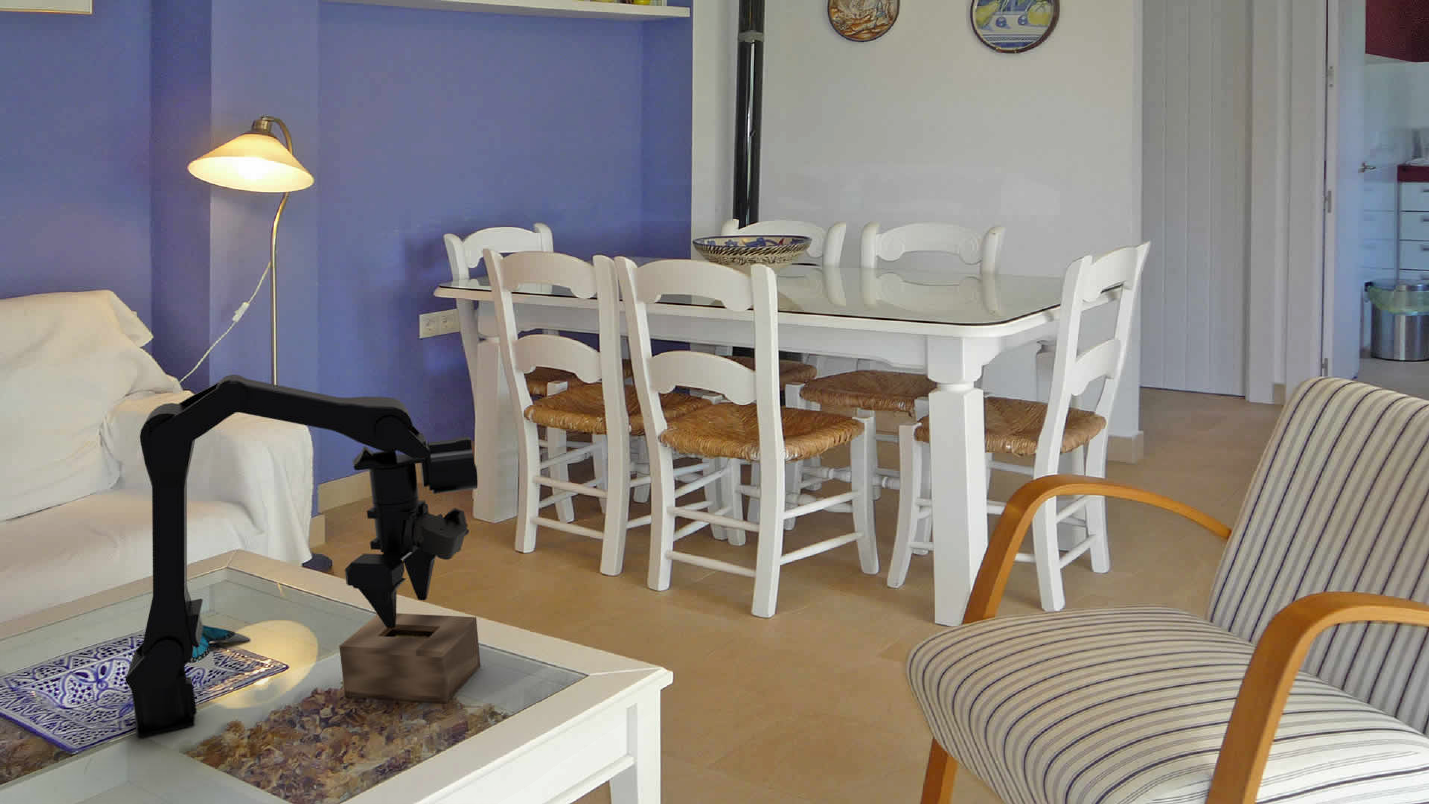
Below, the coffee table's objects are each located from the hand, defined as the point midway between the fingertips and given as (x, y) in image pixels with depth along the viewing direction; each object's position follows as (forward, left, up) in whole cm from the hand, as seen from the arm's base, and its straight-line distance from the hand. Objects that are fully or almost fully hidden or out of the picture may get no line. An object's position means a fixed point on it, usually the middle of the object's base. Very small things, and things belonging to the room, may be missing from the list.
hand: (407, 613), depth 162 cm
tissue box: (0, 0, -10) cm, 10 cm away
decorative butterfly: (-24, +25, -10) cm, 37 cm away
